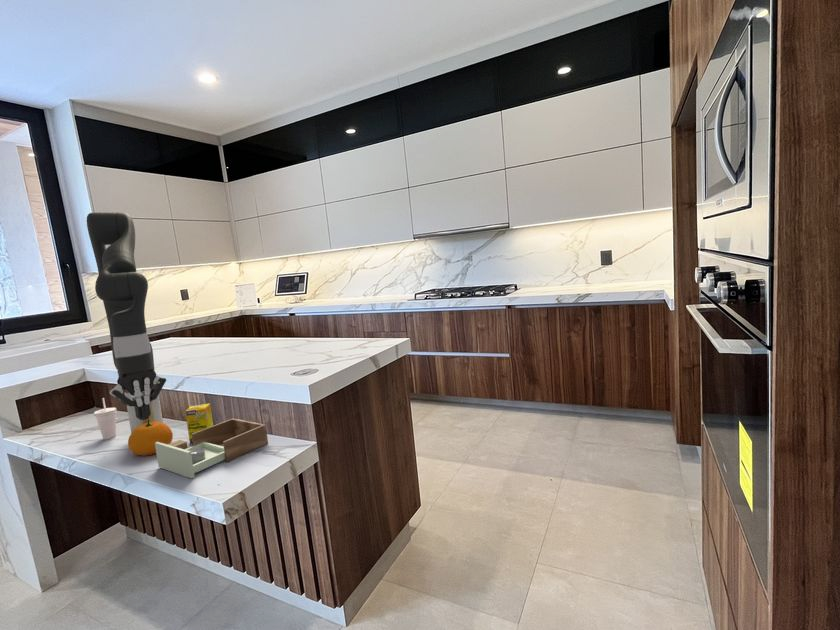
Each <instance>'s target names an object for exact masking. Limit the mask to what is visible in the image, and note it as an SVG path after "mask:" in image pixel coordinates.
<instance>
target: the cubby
mask: <svg viewBox="0 0 840 630" xmlns="http://www.w3.org/2000/svg"><path fill="white" fill-rule="evenodd" d="M267 431H268V430H267V426H266V423H265V424H263V423H259V422H254V421H249V420H243V419H237V418H229V419H227V420H225V421H224V420H223V421H222V422H219V423H217V424H213V426H211V427H208V428H206V429H203V430H201V431H198V432H195V433H193V434H192V439H193V443H192V444H193V446H195V445H197V444H200V443H202V442H207V443H211V444H215V445H219V446H223V447H224V452H225V459H224V460H222V461H221V462H224V463H230V462H231V461H232V462H233V461H234V460H236V459H239V458H241V457H242V456H244V455H247V454H249V453H251V452H253V451H256V450H258V449H259V448H261V447H264V446H266V445H269V440H268V433H267Z"/></svg>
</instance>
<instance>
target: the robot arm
mask: <svg viewBox="0 0 840 630" xmlns="http://www.w3.org/2000/svg"><path fill="white" fill-rule="evenodd" d="M86 228H87V231H88V236H89V240H90V245H91V247H92V248H91V249H92V251H93V255H94V259H95V262H96V267H97V272H98V273H97V274H98V276H97V277H96V281H95V285H94V290H95V294H96V296H97V297H98V298H99V299H100V300H101V301H102V303H103V307H104V310H105V314H106V319H107V320H106V321H107V323H108V327H109V328H108V329H109V336H110V344H111V352H112V361H113V364H114V367H115V369H116V370H117V376H118V379H117V380H116V381H117V382H116V383H117V384H116V385H115V386H114V388H112V389H109V390H108V394H109V395H110V396H112V397H113V398H114V399H116V400H117V401H119V402H120V403H121V404H123V405H125V406H126V409H127V415H128V422H129V427H130V434H131V433H132V432H133V431H134V429H135V428H137V427H138V426H140V425H143V424H146V423H148V420H150V421H149V423H150V422H162V423H164V421H163V415H162V407H161V406H162V405H161V402H160V401H161V400H160V393H161V391H162V389H163V388H164V386H165V384H166V382H167V379H166V377H160V376H159V375H157V372H156V371H155V363H154V362H155V360H154V359H155V358H154V351H153V347H152V346H153V345H152V344H151V342H150V338H149V335H148V333H147V332H148V331H147V325H146V324H147V323H146V318H145V307H146V300H147V295H148V289H149V283H148V279H147V278H146V276H145V275H144V274H143V273H141V272H138V271H137V266H136V261H135V249H136V248H135V247H136V229H135V225H134V221H133V218H132V216H131V215H129V213H125V212H119V211H118V212H114V211H113V212H100V211H99V212H90V213H88V214H87V216H86ZM106 246H108V247H106ZM123 393H124V394H123Z"/></svg>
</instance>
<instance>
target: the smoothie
mask: <svg viewBox="0 0 840 630" xmlns="http://www.w3.org/2000/svg"><path fill="white" fill-rule="evenodd" d="M101 399H102V405H103V408H102V409H98V410H96V411H94V412H93V414H94V415H93V416H94V417H95V419H96V421H97V422H96V423H97V425H98V428H99V431H100V434H101V437H102V440H109V439H113V438H115V437H116V436H117V411H118V409H117V408H116V407H107V406H106V401H105V397H103V398H101Z"/></svg>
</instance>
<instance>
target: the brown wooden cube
mask: <svg viewBox="0 0 840 630" xmlns="http://www.w3.org/2000/svg"><path fill="white" fill-rule="evenodd" d="M167 445H170V446H174V447H177V448H181V449H184V450H185V449H187V448H189V447H188V443H187V441H185V440H181V439H178V440H176V441H171V443H170V444H167Z"/></svg>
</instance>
